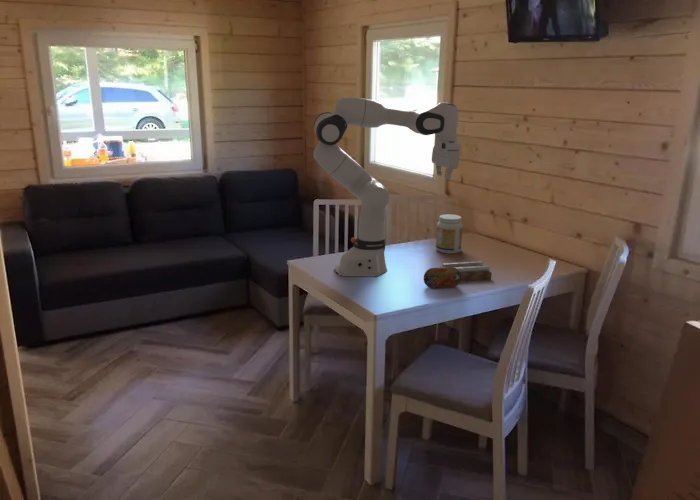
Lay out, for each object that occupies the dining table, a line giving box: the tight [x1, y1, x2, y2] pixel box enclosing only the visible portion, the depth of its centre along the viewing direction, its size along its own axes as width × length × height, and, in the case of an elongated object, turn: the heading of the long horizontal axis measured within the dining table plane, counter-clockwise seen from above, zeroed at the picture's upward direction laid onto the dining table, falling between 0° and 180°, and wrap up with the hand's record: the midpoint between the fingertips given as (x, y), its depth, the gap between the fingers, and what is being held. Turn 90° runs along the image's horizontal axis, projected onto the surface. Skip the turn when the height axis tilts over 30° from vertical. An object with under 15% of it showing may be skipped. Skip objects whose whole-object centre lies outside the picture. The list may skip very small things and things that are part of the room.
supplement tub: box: [435, 213, 464, 255], centre depth 288 cm, size 12×12×17 cm
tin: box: [423, 266, 461, 290], centre depth 239 cm, size 15×3×8 cm, turn 102°
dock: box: [440, 260, 492, 283], centre depth 253 cm, size 18×12×5 cm, turn 103°
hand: (443, 177), depth 249 cm, fingers open, 8 cm apart
